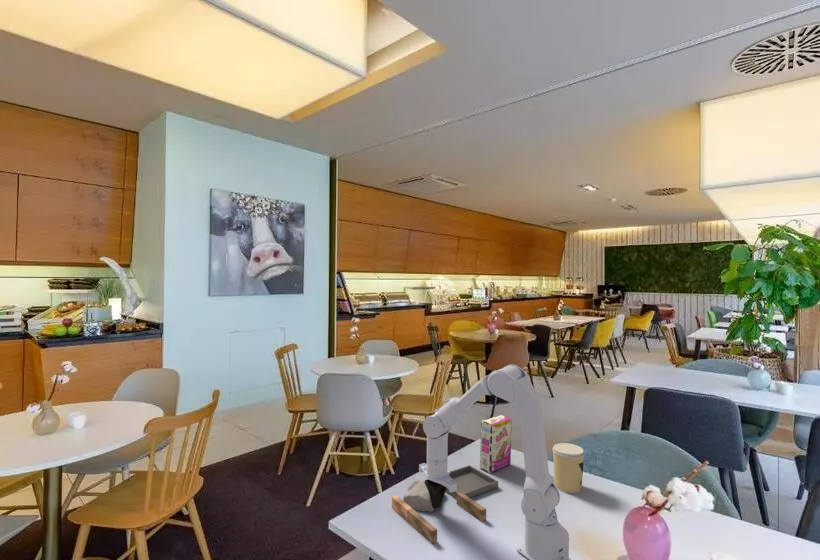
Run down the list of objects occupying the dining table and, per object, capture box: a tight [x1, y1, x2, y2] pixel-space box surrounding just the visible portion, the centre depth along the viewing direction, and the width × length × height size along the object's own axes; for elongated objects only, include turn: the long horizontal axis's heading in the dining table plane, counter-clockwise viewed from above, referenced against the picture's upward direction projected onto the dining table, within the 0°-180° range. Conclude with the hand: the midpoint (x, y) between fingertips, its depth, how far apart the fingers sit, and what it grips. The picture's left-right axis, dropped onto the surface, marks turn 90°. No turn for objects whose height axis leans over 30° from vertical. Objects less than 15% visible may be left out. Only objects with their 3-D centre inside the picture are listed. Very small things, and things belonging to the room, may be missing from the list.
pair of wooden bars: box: [391, 492, 487, 544], centre depth 113 cm, size 19×18×3 cm
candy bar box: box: [479, 414, 513, 474], centre depth 142 cm, size 11×5×16 cm, turn 130°
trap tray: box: [445, 464, 499, 500], centre depth 129 cm, size 13×15×2 cm
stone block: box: [402, 479, 435, 513], centre depth 121 cm, size 12×5×10 cm
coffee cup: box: [552, 442, 585, 494], centre depth 128 cm, size 9×9×12 cm
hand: (436, 506), depth 114 cm, fingers closed
